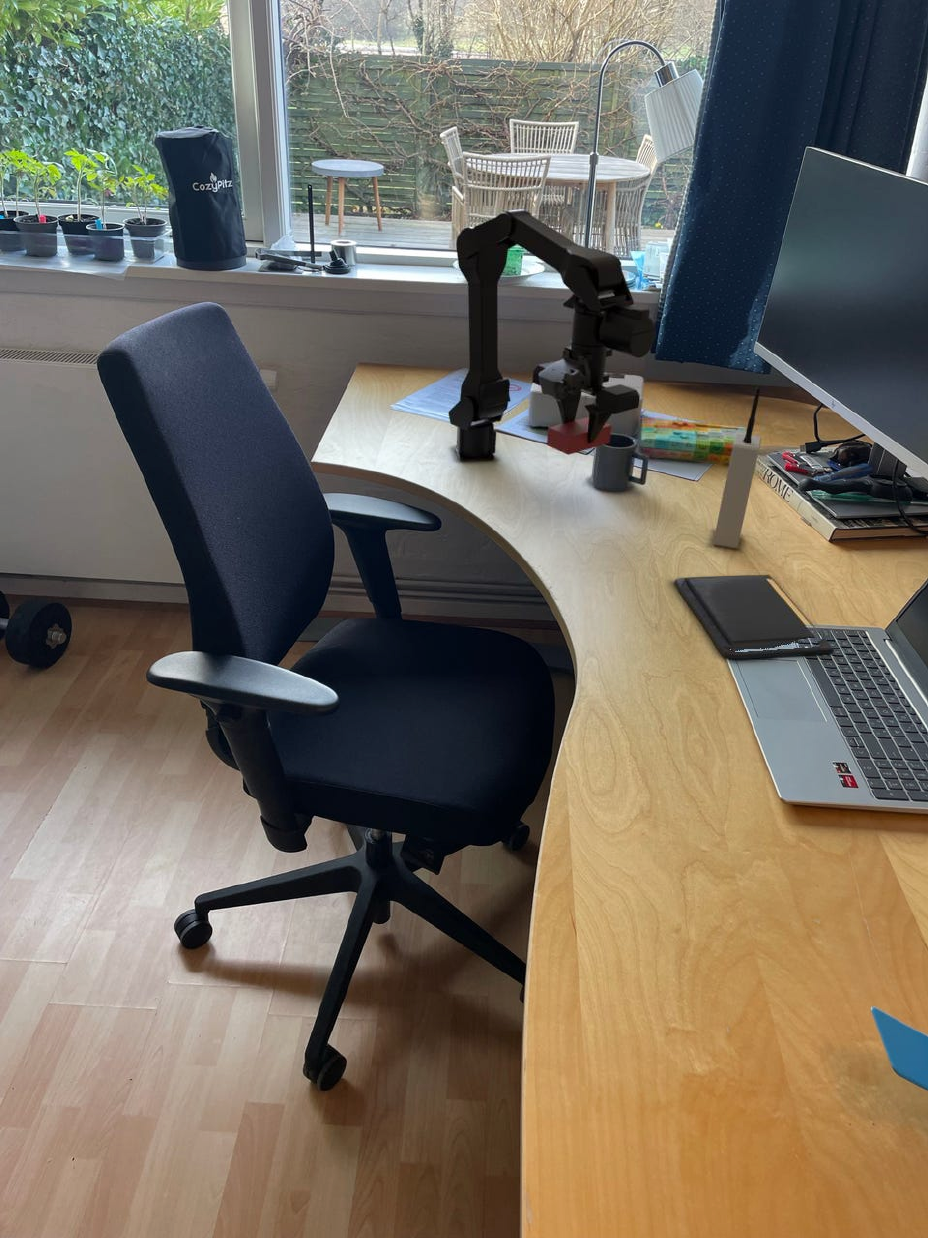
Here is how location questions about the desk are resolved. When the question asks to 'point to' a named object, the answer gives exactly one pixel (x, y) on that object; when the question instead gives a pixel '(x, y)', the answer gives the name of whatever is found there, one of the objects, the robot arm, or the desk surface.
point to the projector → (548, 413)
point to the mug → (617, 464)
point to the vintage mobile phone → (738, 484)
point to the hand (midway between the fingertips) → (579, 437)
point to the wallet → (748, 615)
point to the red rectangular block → (575, 436)
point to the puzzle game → (688, 440)
